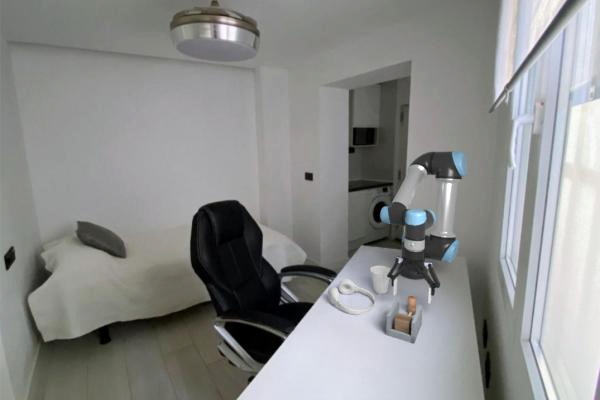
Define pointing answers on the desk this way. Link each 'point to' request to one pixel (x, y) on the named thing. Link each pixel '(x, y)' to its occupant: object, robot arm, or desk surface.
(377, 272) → the cup
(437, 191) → the robot arm
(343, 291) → the headphones
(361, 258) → the desk surface
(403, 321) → the tethered block
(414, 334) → the lane
